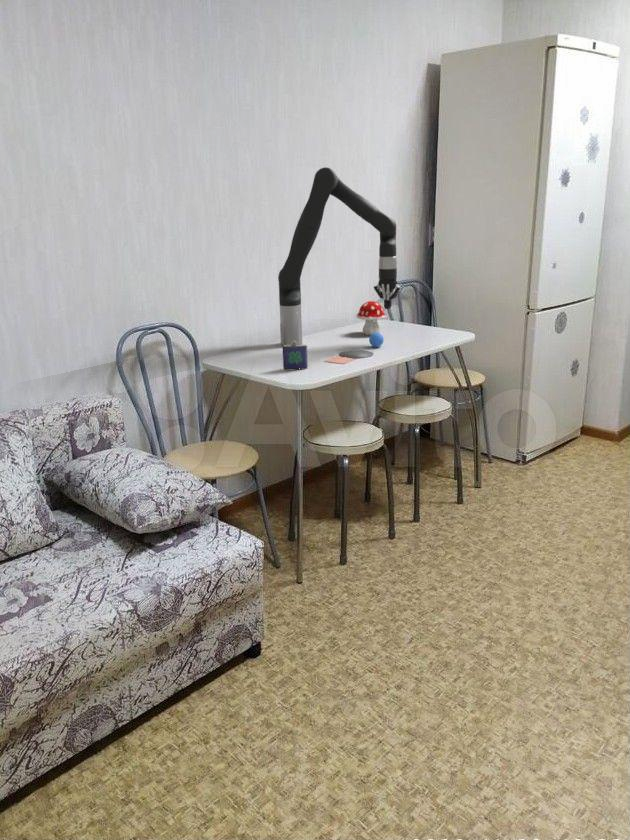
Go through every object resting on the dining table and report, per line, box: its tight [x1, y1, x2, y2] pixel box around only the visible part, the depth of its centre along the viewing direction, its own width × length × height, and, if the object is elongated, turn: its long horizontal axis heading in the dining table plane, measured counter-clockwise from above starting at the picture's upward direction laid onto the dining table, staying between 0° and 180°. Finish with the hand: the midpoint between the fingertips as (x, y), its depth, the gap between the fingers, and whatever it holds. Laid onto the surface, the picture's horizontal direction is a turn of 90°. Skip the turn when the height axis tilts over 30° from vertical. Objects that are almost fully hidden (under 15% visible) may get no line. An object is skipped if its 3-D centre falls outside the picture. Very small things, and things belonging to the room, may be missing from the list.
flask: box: [282, 341, 309, 370], centre depth 266 cm, size 9×3×11 cm, turn 95°
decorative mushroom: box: [355, 300, 387, 336], centre depth 324 cm, size 14×14×15 cm
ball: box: [368, 332, 385, 348], centre depth 299 cm, size 6×6×6 cm
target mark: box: [338, 349, 374, 359], centre depth 288 cm, size 14×14×1 cm
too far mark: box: [324, 356, 356, 365], centre depth 278 cm, size 9×9×1 cm
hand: (387, 308), depth 303 cm, fingers closed
